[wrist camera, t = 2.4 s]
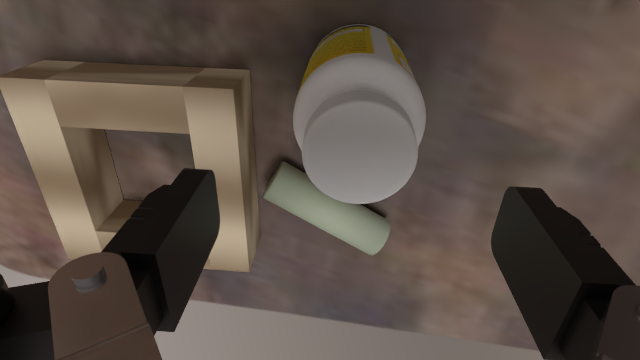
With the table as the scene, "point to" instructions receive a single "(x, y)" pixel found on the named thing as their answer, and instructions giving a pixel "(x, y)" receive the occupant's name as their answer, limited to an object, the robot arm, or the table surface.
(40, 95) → the socket block
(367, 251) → the lying dowel
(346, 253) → the table surface
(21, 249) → the table surface
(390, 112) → the supplement bottle
